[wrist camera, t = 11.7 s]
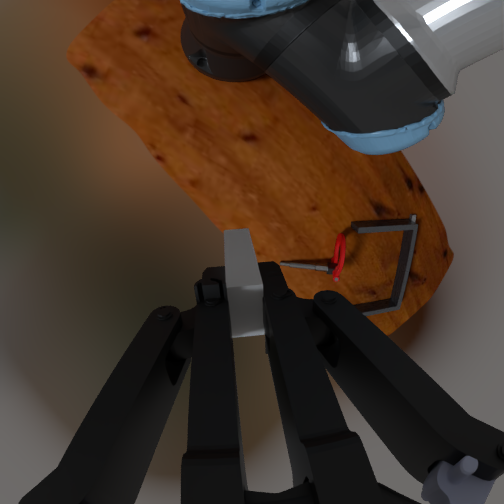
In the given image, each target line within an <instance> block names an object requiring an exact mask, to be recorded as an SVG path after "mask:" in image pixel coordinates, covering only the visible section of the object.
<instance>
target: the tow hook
mask: <svg viewBox="0 0 504 504" xmlns="http://www.w3.org/2000/svg"><path fill="white" fill-rule="evenodd" d="M339 247H340V258H339V263H338V253H339ZM345 250H346V242H345V235H344V234H343V233H339V234H338V236H337V239H336V243H335V250H334V257H333V258H332V259H331V263H327V264H319V263H316V264H308V263H298V262H290V263H289V262H280V265H283V266H289V267H293V268H303V269H313V270H315V271H324V272H327V274H333V281H335V282H337V281H339V280H340V278H339V274H340V273H341V271H342V268H343V264H344V259H345Z"/></svg>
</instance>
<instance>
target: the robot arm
mask: <svg viewBox="0 0 504 504" xmlns="http://www.w3.org/2000/svg"><path fill="white" fill-rule="evenodd" d="M180 3H181V5H182V8H183V11H184V13H185V16H186V18H185V20H184V22H183V25H182V29H181V44H182V48H183V51H184V53H185V55H186V57H187V59H188V60H189V62H190V63H191V64H192V65H193V66H194V67H195V68H196V69H197V70H198V71H200V72H201V73H203V74H204V75H206V76H208V77H211V78H213V79H216V80H220V81H226V82H242V81H248V80H252V79H255V78H258V77H260V76H262V75H264V74H268V75H269V76H270V77H271V78H273V79H274V80H275V81H276V82H278V83H279V84H280V85H281V86H282V87H284V88H285V89H286V90H287V91H288V92H290V93H291V94H292V95H293V96H294V97H295V98H297V99H298V100H299V101H300V102H301V103H302V104H303V105H304V106H306V107H307V108H308V109H309V110H310V111H311V112H312V113H313V114H314V115H315V116H316V117H318V118H319V119H320V120H321V123H322V125H323V126H324V127H325V128H326V129H327V130H329V131H331V132H333V133H335V134H336V135H337V136H338V137H339V138H340V139H341V140H342V141H343V142H344V143H345V144H346V145H348V146H349V147H350V148H352V149H353V150H356V151H359V152H361V153H364V154H370V155H382V154H389V153H393V152H397V151H400V150H403V149H406V148H408V147H410V146H412V145H414V144H416V143H418V142H420V141H421V140H423V139H424V138H425V137H427V136H428V135H429V130H431V129H436V128H437V127H438V125H439V124H440V122H441V121H442V119H443V116H444V112H445V109H444V101H443V99H445V98H447V97H449V96H451V95H452V94H454V93H455V90H456V84H457V77H458V74H459V72H460V70H462V69H464V68H465V67H467V66H469V65H471V64H473V63H475V62H477V61H479V60H481V59H484V58H486V57H487V56H490V55H492V54H494V53H496V52H498V51H500V50H502V49H504V0H180ZM224 244H225V245H224V246H225V247H224V248H225V266H223V267H222V266H221V267H209V268H206V270H205V271H204V272H203V275H202V279H200V280H199V281H197V282H196V283H195V285H194V290H195V295H196V301H197V305H196V306H195V307H194V308H192V309H190V310H187V311H183V312H180V311H179V309H178V308H176V307H174V306H162V307H159V308H157V309H155V310H153V311H152V313H151V314H150V315H149V316H148V318H147V319H146V321H145V322H144V324H143V325H142V327H141V329H140V330H139V332H138V333H137V335H136V336H135V338H134V339H133V341H132V342H131V344H130V345H129V347H128V348H127V350H126V351H125V353H124V355H123V356H122V358H121V359H120V361H119V362H118V364H117V366H116V367H115V369H114V370H113V372H112V373H111V375H110V377H109V378H108V380H107V382H106V383H105V385H104V386H103V388H102V390H101V391H100V393H99V395H98V396H97V398H96V400H95V401H94V403H93V405H92V406H91V408H90V410H89V411H88V413H87V415H86V417H85V418H84V420H83V422H82V423H81V425H80V427H79V429H78V430H77V432H76V434H75V436H74V437H73V439H72V441H71V443H70V445H69V446H68V448H67V450H66V452H65V454H64V456H63V458H62V460H61V461H60V463H59V465H58V467H57V468H56V469H55V470H54V471H52V472H51V473H50V474H49V475H48V476H47V477H46V478H44V479H43V480H42V481H41V482H40V483H39V484H38V485H37V486H35V487H34V488H33V489H32V490H31V491H29V492H28V493H27V494H26V495H25V496H24V497H23V498H22V499H21V500H20V502H19V504H134V503H135V501H136V499H137V496H138V493H139V491H140V488H141V485H142V483H143V480H144V477H145V475H146V472H147V470H148V467H149V465H150V462H151V460H152V457H153V454H154V452H155V449H156V447H157V444H158V442H159V439H160V436H161V434H162V432H163V429H164V426H165V424H166V421H167V419H168V416H169V414H170V411H171V409H172V406H173V404H174V401H175V399H176V396H177V394H178V391H179V389H180V386H181V384H182V381H183V379H184V377H185V374H186V372H187V369H188V367H189V364H190V362H191V357H192V364H191V379H190V395H189V414H188V442H187V452H186V453H185V454H183V457H182V465H181V504H421V503H419V502H416V501H414V500H412V499H410V498H408V497H406V496H404V495H402V494H400V493H398V492H396V491H394V490H392V489H390V488H388V487H387V486H385V485H383V484H381V483H378V482H377V481H376V478H375V475H374V472H373V470H372V467H371V465H370V462H369V459H368V456H367V454H366V451H365V449H364V447H363V443H362V441H361V439H360V437H359V435H358V434H357V433H356V432H352V431H350V430H349V429H348V427H347V424H346V422H345V419H344V416H343V414H342V411H341V409H340V406H339V403H338V400H337V398H336V395H335V393H334V390H333V387H332V385H331V382H330V380H329V377H328V374H327V372H326V370H325V368H326V369H327V371H328V372H329V373H330V375H331V376H332V377H333V379H334V380H335V381H336V382H337V384H338V385H339V386H340V388H341V389H342V390H343V391H344V393H345V394H346V395H347V397H348V398H349V399H350V400H351V402H352V403H353V404H354V406H355V407H356V408H357V409H358V411H359V412H360V413H361V414H362V416H363V417H364V418H365V420H366V421H367V422H368V424H369V425H370V426H371V427H372V429H373V430H374V431H375V432H376V433H377V435H378V436H379V437H380V439H381V440H382V441H383V442H384V444H385V445H386V446H387V448H388V449H389V450H390V451H391V453H392V454H393V455H394V456H395V458H396V459H397V460H398V461H399V463H400V464H401V465H402V466H403V467H404V468H405V470H407V472H408V473H409V474H411V475H412V476H413V477H414V478H415V479H416V480H418V481H419V482H421V483H422V484H423V488H422V489H423V491H422V493H421V497H422V498H423V500H425V501H429V503H430V504H484V503H485V501H486V499H487V497H488V495H489V493H490V491H491V488H492V486H493V484H494V482H495V480H496V479H497V478H498V477H499V476H501V475H502V474H503V473H504V432H502V431H500V430H498V429H496V428H494V427H492V426H490V425H488V424H486V423H484V422H482V421H479V420H477V419H475V418H473V417H471V416H470V415H469V414H468V413H467V412H466V411H465V410H464V409H463V408H462V407H461V406H460V405H459V404H458V403H457V402H456V401H454V399H453V398H451V397H450V395H448V394H447V393H446V392H445V391H444V390H443V389H442V388H441V387H440V386H439V385H438V384H437V383H436V382H435V381H434V380H433V379H432V378H431V377H430V376H429V375H428V374H427V373H426V372H425V371H424V370H422V368H421V367H419V366H418V365H417V364H416V363H415V362H414V361H413V360H412V359H411V358H410V357H409V356H408V355H407V354H406V353H405V352H403V350H401V349H400V348H399V347H398V346H397V345H396V344H395V343H394V342H393V341H392V340H391V339H390V338H388V337H387V336H386V335H385V334H384V333H383V332H382V331H381V330H380V329H379V328H378V327H377V326H375V325H374V324H373V323H372V322H371V321H370V320H369V319H368V318H367V317H366V316H365V315H363V314H362V313H361V312H360V311H359V310H358V309H357V308H356V307H355V306H353V305H352V304H351V303H350V302H349V301H348V300H347V299H346V298H345V297H343V296H342V295H341V294H339V293H338V292H335V291H330V290H325V291H320V292H318V293H316V294H315V295H314V300H313V299H303V298H299V297H296V295H295V293H294V292H293V291H292V290H291V289H289V288H288V286H287V284H286V281H285V279H284V276H283V274H282V272H281V269H280V266H279V265H278V264H277V263H275V262H274V261H271V262H260V263H257V259H256V256H255V252H254V248H253V244H252V240H251V237H250V233H249V229H248V228H247V229H234V230H224ZM264 330H265V347H266V354H268V357H269V362H270V367H271V372H272V377H273V382H274V386H275V391H276V396H277V401H278V406H279V410H280V415H281V420H282V425H283V429H284V434H285V439H286V444H287V449H288V454H289V458H290V463H291V467H292V474H293V488H291V489H288V490H286V491H283V492H280V493H265V492H255V491H248V487H247V480H246V473H245V464H244V455H243V446H242V436H241V426H240V417H239V406H238V396H237V385H236V373H235V362H234V351H233V340H232V338H233V337H243V336H254V335H264Z"/></svg>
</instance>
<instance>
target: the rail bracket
mask: <svg viewBox="0 0 504 504" xmlns="http://www.w3.org/2000/svg"><path fill="white" fill-rule="evenodd" d="M415 220H416V215H415V214H410V218H409V219H396V220H374V221H355V222H351V228H353V229H354V230H355V231H356V232H357V233H371V232H385V231H401V230H404V233H403V239H402V245H401V251H400V256H399V262H398V267H397V271H396V276H395V281H394V285H393V290H392V294H391V298H390V299H385V300H379V301H374V302H368V303H362V304H356V305H353V306H355V307H356V308H357V309H358V310H359V311H360V312H361V313H362V314H363V315H365V316H369V315H374V314H379V313H384V312H389V311H394V310H398V309H400V306H401V302H402V298H403V295H404V291H405V287H406V283H407V279H408V274H409V270H410V265H411V261H412V256H413V251H414V246H415V240H416V235H417V229H418V224H417V223H415Z"/></svg>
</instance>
